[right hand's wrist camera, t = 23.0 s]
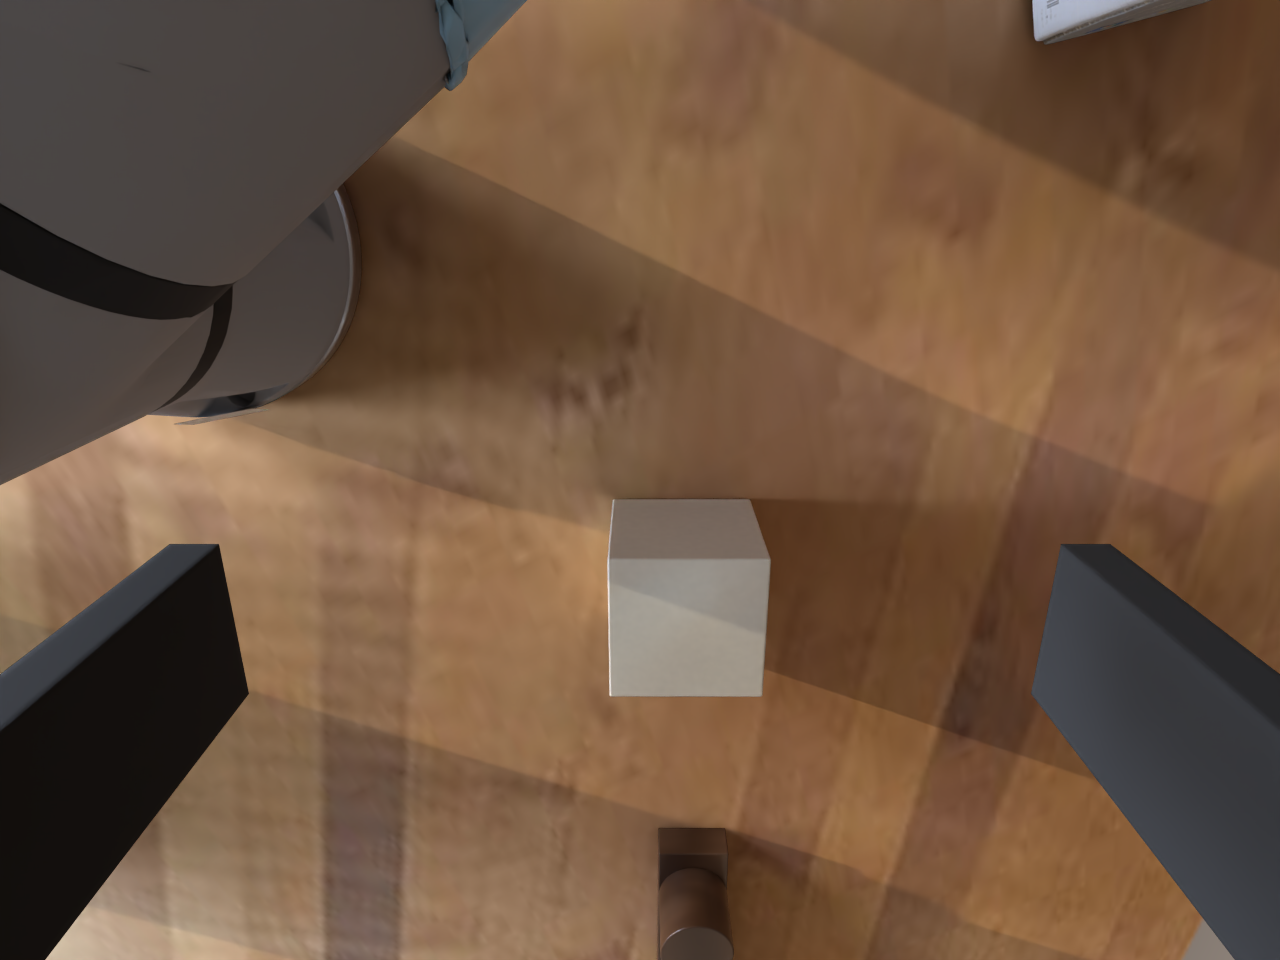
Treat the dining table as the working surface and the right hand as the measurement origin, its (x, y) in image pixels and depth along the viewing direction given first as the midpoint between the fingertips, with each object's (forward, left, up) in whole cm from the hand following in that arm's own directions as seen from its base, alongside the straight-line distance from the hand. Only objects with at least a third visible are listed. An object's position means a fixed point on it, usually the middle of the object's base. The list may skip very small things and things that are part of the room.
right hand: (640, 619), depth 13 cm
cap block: (+7, -10, -27) cm, 29 cm away
